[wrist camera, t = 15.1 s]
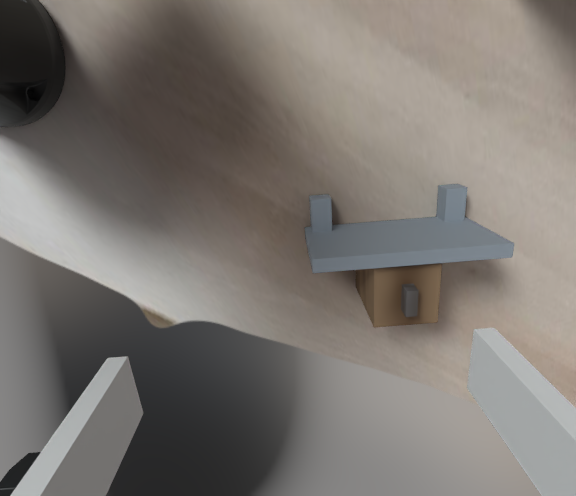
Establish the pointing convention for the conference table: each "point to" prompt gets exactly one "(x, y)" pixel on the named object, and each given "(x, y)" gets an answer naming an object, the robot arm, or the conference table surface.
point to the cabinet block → (400, 294)
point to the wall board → (401, 237)
